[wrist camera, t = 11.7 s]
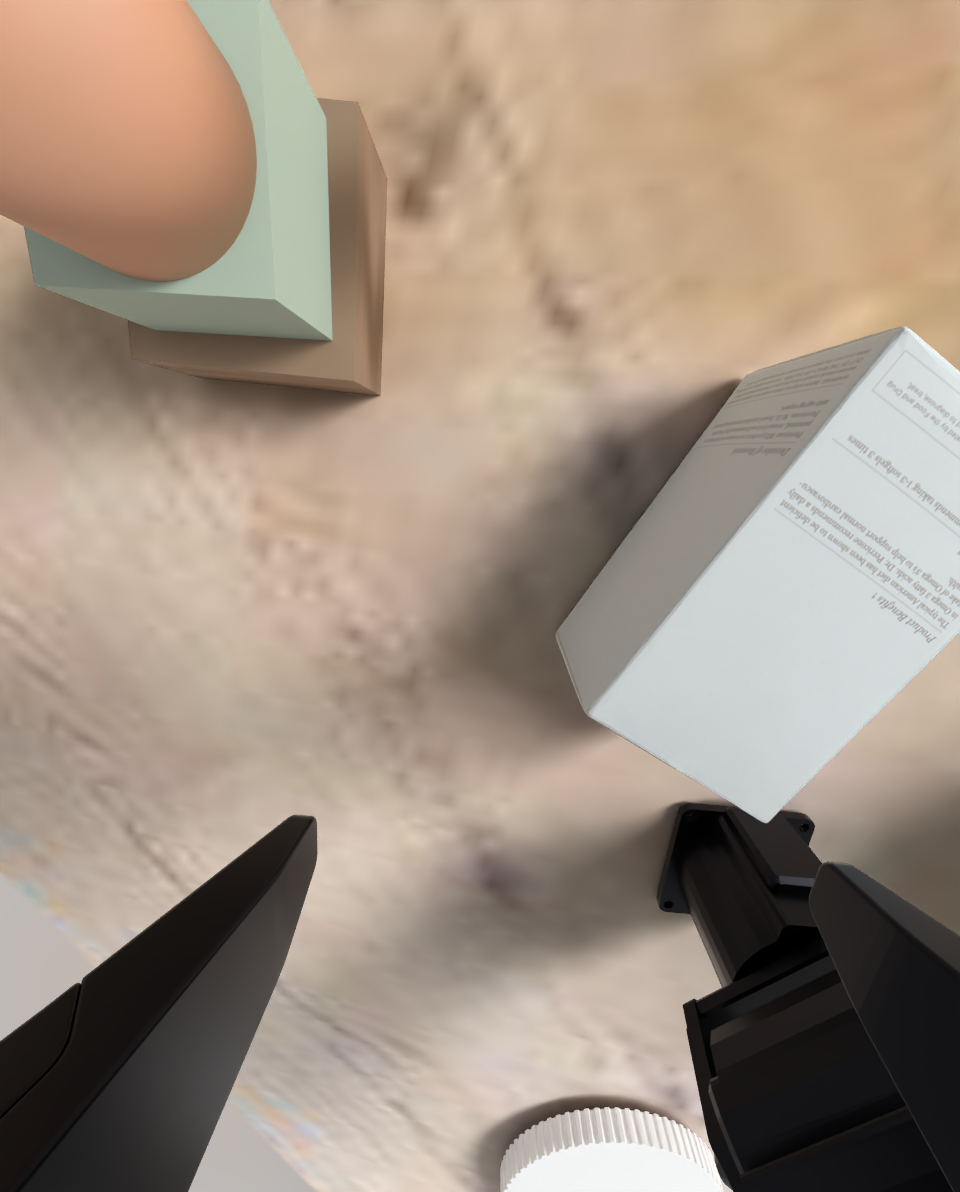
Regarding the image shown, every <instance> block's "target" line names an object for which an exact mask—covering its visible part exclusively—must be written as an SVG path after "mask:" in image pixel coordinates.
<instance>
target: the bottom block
mask: <svg viewBox="0 0 960 1192" xmlns="http://www.w3.org/2000/svg"><path fill="white" fill-rule="evenodd" d="M317 100H318V102H319V104H320V106H321V108H322V110H323V112H324V114H325V117H326V125H327V160H328V196H329V232H330V268H331V304H332V340H333V341H330V340H313V339H296V338H279V337H263V336H246V335H229V334H212V333H195V332H178V331H162V330H154V329H151V328H148V327H146V326H143V325H140V324H137V323H135V322H132V321H129V320H128V327H129V336H130V345H131V354H132V359H133V360H137V361H141V362H144V363H148V364H152V365H156V366H159V367H163V368H167V369H170V370H174V371H178V372H182V373H185V374H189V375H193V376H196V377H200V378H207V379H218V380H228V381H238V382H248V383H259V384H269V385H279V386H289V387H300V388H310V389H320V390H330V391H340V392H351V393H361V394H371V395H381V368H382V335H383V302H384V268H385V235H386V202H387V177H386V174H385V172H384V169H383V167H382V164H381V161H380V159H379V156H378V153H377V151H376V148H375V146H374V143H373V140H372V138H371V135H370V132H369V130H368V127H367V124H366V122H365V119H364V117H363V114H362V111H361V109H360V106H359V103H358V102H351V101H341V100H331V99H321V98H317Z"/></svg>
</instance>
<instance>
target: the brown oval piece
mask: <svg viewBox="0 0 960 1192" xmlns="http://www.w3.org/2000/svg"><path fill="white" fill-rule="evenodd" d="M256 172H257V155H256V141H255V135H254V130H253V124H252V120H251V116H250V113H249V109H248V106H247V102H246V100H245V97H244V95H243V92H242V90H241V87H240V85H239V83H238V81H237V79H236V77H235V75H234V73H233V71H232V69H231V67H230V65H229V64H228V62H227V61H226V59H225V58H224V56H223V55H222V53H221V52H220V50H219V49H218V47H217V46H216V44H215V43H214V41H213V40H212V38H211V36H210V35H209V33H208V32H207V30H206V29H205V27H204V26H203V24H202V23H201V21H200V20H199V18H198V17H197V15H196V14H195V12H194V11H193V9H192V8H191V6H190V5H189V3H188V2H187V0H0V214H1V215H3V216H5V217H7V218H9V219H11V220H13V221H15V222H17V223H19V224H21V225H23V226H25V227H27V228H29V229H31V230H33V231H35V232H37V233H39V234H41V235H43V236H45V237H47V238H49V239H51V240H53V241H55V242H57V243H59V244H61V245H63V246H65V247H67V248H69V249H71V250H73V251H75V252H77V253H79V254H81V255H83V256H85V257H87V258H89V259H91V260H94V261H96V262H98V263H100V264H102V265H104V266H106V267H108V268H110V269H112V270H114V271H116V272H118V273H120V274H123V275H126V276H129V277H132V278H136V279H141V280H146V281H159V282H164V281H174V280H179V279H183V278H187V277H190V276H193V275H195V274H197V273H199V272H202V271H203V270H205V269H207V268H208V267H210V266H211V265H213V264H214V263H215V262H216V261H218V260H219V259H220V258H221V257H222V256H223V255H224V254H225V253H226V252H227V251H228V249H229V248H230V247H231V246H232V245H233V243H234V242H235V240H236V239H237V237H238V235H239V234H240V232H241V230H242V229H243V226H244V224H245V222H246V219H247V217H248V215H249V211H250V208H251V204H252V201H253V197H254V191H255V184H256Z"/></svg>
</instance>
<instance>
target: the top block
mask: <svg viewBox="0 0 960 1192" xmlns="http://www.w3.org/2000/svg"><path fill="white" fill-rule="evenodd" d="M187 2H188V3H189V5H190V6H191V8H192V9H193V11H194V12H195V14H196V15H197V17H198V18H199V20H200V21H201V23H202V24H203V26H204V27H205V29H206V30H207V32H208V33H209V35H210V36H211V38H212V40H213V41H214V43H215V44H216V46H217V47H218V49H219V50H220V52H221V53H222V55H223V56H224V58H225V59H226V61H227V62H228V64H229V65H230V67H231V69H232V71H233V73H234V75H235V77H236V79H237V81H238V83H239V85H240V87H241V90H242V92H243V95H244V97H245V100H246V102H247V106H248V109H249V113H250V116H251V120H252V124H253V130H254V135H255V141H256V155H257V172H256V184H255V191H254V197H253V201H252V204H251V208H250V211H249V215H248V217H247V219H246V222H245V224H244V226H243V229H242V230H241V232H240V234H239V235H238V237H237V239H236V240H235V242H234V243H233V245H232V246H231V247H230V248H229V249H228V251H227V252H226V253H225V254H224V255H223V256H222V257H221V258H220V259H219V260H218V261H216V262H215V263H214V264H213V265H211V266H210V267H208V268H207V269H205V270H203V271H202V272H199V273H197V274H195V275H193V276H190V277H187V278H183V279H179V280H174V281H164V282H159V281H146V280H141V279H136V278H132V277H129V276H126V275H123V274H120V273H118V272H116V271H114V270H112V269H110V268H108V267H106V266H104V265H102V264H100V263H98V262H96V261H94V260H91V259H89V258H87V257H85V256H83V255H81V254H79V253H77V252H75V251H73V250H71V249H69V248H67V247H65V246H63V245H61V244H59V243H57V242H55V241H53V240H51V239H49V238H47V237H45V236H43V235H41V234H39V233H37V232H35V231H33V230H31V229H29V228H27V227H25V226H24V229H25V234H26V240H27V245H28V251H29V256H30V262H31V267H32V272H33V278H34V283H35V285H36V286H38V287H41V288H44V289H46V290H49V291H52V292H54V293H57V294H60V295H62V296H65V297H68V298H70V299H73V300H76V301H79V302H81V303H84V304H87V305H89V306H92V307H95V308H97V309H100V310H103V311H105V312H108V313H111V314H113V315H116V316H119V317H121V318H124V319H127V320H129V321H132V322H135V323H137V324H140V325H143V326H146V327H148V328H151V329H154V330H162V331H178V332H195V333H212V334H229V335H246V336H263V337H279V338H296V339H313V340H330V341H333V340H332V304H331V268H330V232H329V196H328V160H327V125H326V117H325V114H324V112H323V110H322V108H321V106H320V104H319V102H318V100H317V98H316V96H315V94H314V92H313V90H312V88H311V86H310V84H309V82H308V80H307V78H306V76H305V74H304V72H303V70H302V68H301V66H300V64H299V62H298V60H297V58H296V56H295V53H294V51H293V49H292V47H291V45H290V43H289V41H288V39H287V37H286V35H285V33H284V31H283V29H282V27H281V25H280V23H279V21H278V19H277V17H276V15H275V13H274V11H273V9H272V7H271V5H270V3H269V1H268V0H187Z"/></svg>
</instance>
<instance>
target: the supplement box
mask: <svg viewBox="0 0 960 1192" xmlns="http://www.w3.org/2000/svg"><path fill="white" fill-rule="evenodd" d="M959 632H960V372H959V371H958V370H957V369H956V368H955V367H953V366H952V365H951V364H950V363H949V362H948V361H947V360H945V359H944V358H943V357H942V356H941V355H940V354H938V353H937V352H936V351H935V350H934V349H933V348H931V347H930V346H929V345H928V344H927V343H926V342H924V341H923V340H922V339H921V338H920V337H919V336H918V335H917V334H915V333H914V332H913V331H911V330H910V329H909V328H907V327H903V326H901V327H898V328H894V329H890V330H886V331H883V332H880V333H877V334H873V335H870V336H866V337H863V338H860V339H856V340H853V341H850V342H847V343H844V344H841V345H838V346H834V347H830V348H827V349H824V350H821V351H818V352H815V353H811V354H807V355H804V356H800V357H798V358H795V359H791V360H789V361H786V362H782V363H779V364H776V365H773V366H770V367H766V368H763V369H760V370H757V371H755V372H753V373H750V374H748V375H746V376H745V377H744V378H743V380H742V381H741V382H740V384H739V385H738V386H737V388H736V389H735V390H734V392H733V393H732V395H731V396H730V397H729V399H728V400H727V402H726V403H725V404H724V406H723V407H722V408H721V410H720V411H719V412H718V414H717V415H716V417H715V418H714V419H713V421H712V422H711V423H710V425H709V426H708V427H707V428H706V430H705V431H704V433H703V434H702V435H701V437H700V438H699V439H698V441H697V442H696V443H695V445H694V446H693V447H692V449H691V450H690V451H689V453H688V454H687V456H686V457H685V458H684V460H683V461H682V462H681V464H680V465H679V467H678V468H677V470H676V471H675V472H674V473H673V475H672V476H671V477H670V479H669V480H668V481H667V483H666V484H665V485H664V487H663V488H662V489H661V491H660V492H659V494H658V495H657V496H656V498H655V499H654V500H653V502H652V503H651V504H650V506H649V507H648V508H647V510H646V511H645V513H644V514H643V515H642V517H641V518H640V519H639V520H638V522H637V523H636V524H635V526H634V527H633V528H632V530H631V531H630V532H629V534H628V535H627V536H626V538H625V539H624V540H623V542H622V543H621V544H620V546H619V547H618V549H617V550H616V551H615V553H614V554H613V555H612V557H611V558H610V559H609V561H608V562H607V564H606V565H605V566H604V568H603V569H602V570H601V572H600V573H599V574H598V576H597V577H596V579H595V580H594V581H593V583H592V584H591V585H590V587H589V588H588V589H587V591H586V592H585V593H584V595H583V596H582V598H581V599H580V600H579V602H578V603H577V604H576V606H575V607H574V608H573V610H572V611H571V612H570V614H569V615H568V617H567V618H566V619H565V621H564V622H563V623H562V625H561V626H560V627H559V629H558V630H557V632H556V634H555V635H556V640H557V643H558V645H559V648H560V651H561V653H562V656H563V659H564V662H565V664H566V667H567V669H568V672H569V675H570V678H571V681H572V683H573V686H574V689H575V692H576V694H577V696H578V699H579V701H580V704H581V706H582V708H583V710H584V712H585V713H586V715H587V716H588V717H590V718H592V719H593V720H595V721H596V722H598V723H600V724H601V725H603V726H605V727H606V728H608V729H610V730H611V731H613V732H614V733H616V734H618V735H619V736H621V737H623V738H624V739H626V740H628V741H629V742H631V743H633V744H634V745H636V746H638V747H639V748H641V749H643V750H644V751H646V752H648V753H649V754H651V755H653V756H654V757H656V758H658V759H659V760H661V761H663V762H664V763H666V764H668V765H669V766H671V767H673V768H675V769H676V770H678V771H679V772H681V773H683V774H685V775H686V776H688V777H690V778H691V779H693V780H695V781H696V782H698V783H700V784H701V785H703V786H705V787H706V788H708V789H709V790H711V791H713V792H714V793H716V794H718V795H719V796H721V797H723V798H724V799H726V800H727V801H729V802H731V803H732V804H734V805H735V806H737V807H739V808H740V809H742V810H743V811H745V812H747V813H748V814H750V815H752V816H753V817H755V818H756V819H758V820H760V821H761V822H763V823H768V822H769V821H770V820H771V819H772V818H773V817H774V816H775V815H776V814H777V813H778V812H779V811H780V810H781V809H782V808H783V807H784V806H785V805H786V804H787V803H788V802H789V801H790V800H791V799H792V798H793V797H794V796H795V795H796V794H797V793H798V792H799V791H800V790H801V789H802V788H803V787H804V786H805V785H806V784H807V783H808V782H809V781H810V780H811V779H812V778H813V777H814V776H815V775H816V774H817V773H818V772H819V771H820V770H821V769H822V768H823V767H824V766H825V765H826V764H827V763H828V762H829V761H830V760H831V759H832V758H833V757H834V756H835V755H836V754H837V753H838V752H839V751H840V750H841V749H842V748H843V747H844V746H845V745H846V744H847V743H848V742H849V741H850V740H851V739H852V738H853V737H854V736H855V735H856V734H857V733H858V732H859V731H860V730H861V729H862V728H863V727H864V726H865V725H866V724H867V723H868V722H869V721H870V720H871V719H872V718H873V717H874V716H875V715H876V714H877V713H878V712H879V711H880V710H881V709H882V708H883V707H884V706H885V705H886V704H887V703H888V702H889V701H890V700H891V699H892V698H893V697H894V696H895V695H896V694H897V693H898V692H899V691H900V690H902V689H903V688H904V687H905V686H906V685H907V684H908V682H909V681H910V680H911V679H912V678H913V677H914V676H915V675H916V674H918V673H919V672H920V671H921V670H922V669H923V668H924V667H925V666H926V665H927V664H928V663H929V662H930V661H931V660H932V659H933V658H934V657H935V656H936V655H937V654H938V653H939V652H940V651H941V650H942V649H943V648H944V647H945V646H946V645H947V644H948V643H949V642H950V641H951V640H952V639H953V638H954V637H955V636H956V635H957V634H958V633H959Z"/></svg>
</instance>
